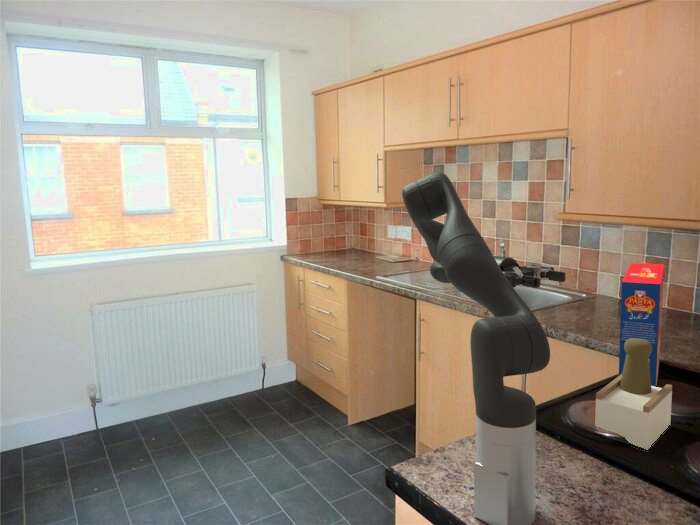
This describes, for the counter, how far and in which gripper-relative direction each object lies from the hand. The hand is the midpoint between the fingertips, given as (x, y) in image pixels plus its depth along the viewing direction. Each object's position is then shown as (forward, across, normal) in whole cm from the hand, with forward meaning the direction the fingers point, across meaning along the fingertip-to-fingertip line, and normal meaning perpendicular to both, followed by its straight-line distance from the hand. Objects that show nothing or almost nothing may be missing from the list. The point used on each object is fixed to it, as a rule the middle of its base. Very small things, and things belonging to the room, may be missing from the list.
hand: (552, 280), depth 110 cm
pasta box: (-1, +40, +32) cm, 51 cm away
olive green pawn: (+12, +12, +24) cm, 30 cm away
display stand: (+14, +9, +32) cm, 36 cm away
